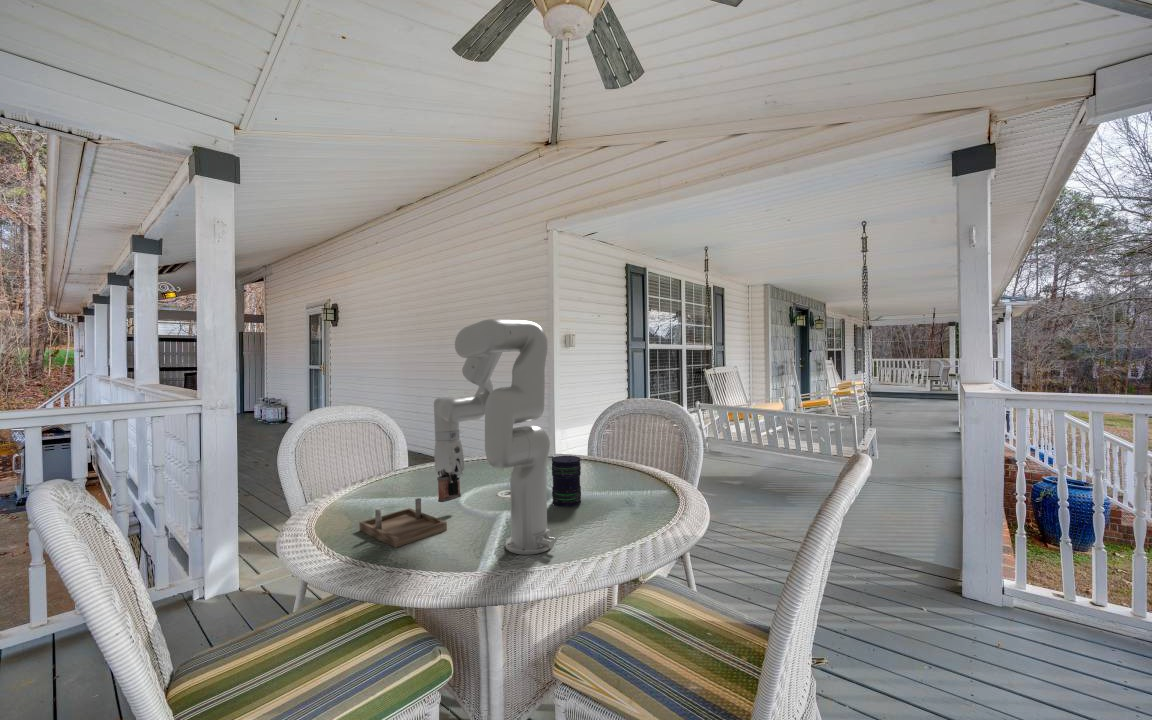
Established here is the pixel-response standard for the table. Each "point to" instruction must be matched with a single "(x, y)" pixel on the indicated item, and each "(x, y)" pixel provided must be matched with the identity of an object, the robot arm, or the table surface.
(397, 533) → the pin tray
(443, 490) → the lighter
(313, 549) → the table surface
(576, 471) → the storage jar
